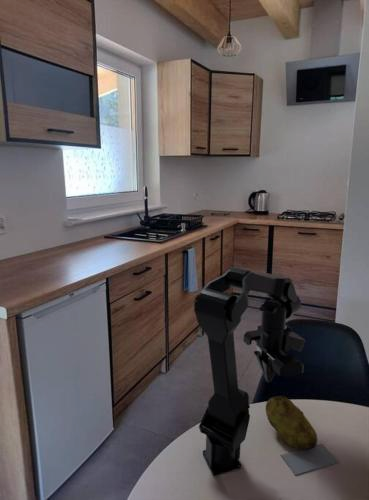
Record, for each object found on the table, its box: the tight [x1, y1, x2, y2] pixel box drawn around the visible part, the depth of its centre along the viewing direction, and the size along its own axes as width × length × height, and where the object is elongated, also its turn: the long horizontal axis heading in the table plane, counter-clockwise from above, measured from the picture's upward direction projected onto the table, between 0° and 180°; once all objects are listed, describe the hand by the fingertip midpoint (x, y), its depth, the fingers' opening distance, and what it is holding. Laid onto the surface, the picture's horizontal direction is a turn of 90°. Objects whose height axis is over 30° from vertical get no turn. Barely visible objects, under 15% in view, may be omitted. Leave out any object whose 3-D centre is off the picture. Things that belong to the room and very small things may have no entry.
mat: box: [280, 443, 340, 476], centre depth 77 cm, size 11×5×1 cm, turn 108°
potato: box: [265, 395, 318, 450], centre depth 83 cm, size 8×13×8 cm, turn 15°
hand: (268, 381), depth 90 cm, fingers closed
